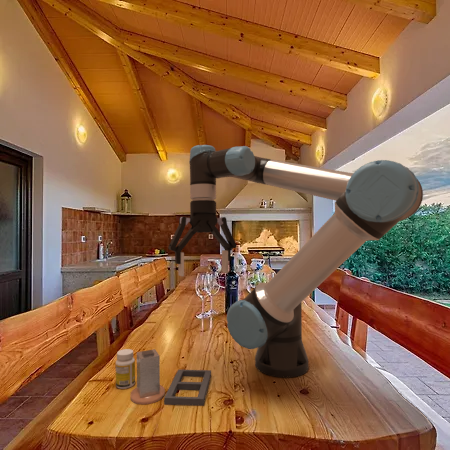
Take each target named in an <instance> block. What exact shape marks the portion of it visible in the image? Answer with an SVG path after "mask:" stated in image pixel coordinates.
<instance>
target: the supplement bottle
mask: <svg viewBox="0 0 450 450" xmlns="http://www.w3.org/2000/svg"><path fill="white" fill-rule="evenodd" d="M135 384H136V359H135V357H134V350H133V349H132V348H131V349H130V348H125V349H124V348H123V349H120V350H118V351H117V353H116V360H115V386H116V388H118V389H119V390H120V389H121V390H123V389H129V388H131V387H134V385H135Z"/></svg>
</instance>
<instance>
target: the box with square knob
mask: <svg viewBox="0 0 450 450" xmlns="http://www.w3.org/2000/svg"><path fill="white" fill-rule="evenodd" d="M160 360H161V359H160V354H159V352H158V351H157V350H156V349H155V348H154V349H148V350H142V351H137V352H136V387H137V391H138V394H139V396H140V398H144V397H148V396H153V395H157V394H160V385H161V383H160V382H161V380H160V379H161V378H160V377H161V375H160V374H161V373H160V372H161V370H160V366H161V365H160Z"/></svg>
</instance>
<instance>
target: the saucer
mask: <svg viewBox="0 0 450 450" xmlns="http://www.w3.org/2000/svg"><path fill="white" fill-rule="evenodd" d="M165 389H166V388H165V387H164V386H163V385H161V384H160V394H157V395H153V396H148V397H144V398H140V396H139V394H138V391H137V386H136V387H134V388H133V389H132V390H131V391H130V401H131V402H133V403H134V404H136V405H150V404H154V403H157V402H159V401H160V400H162V399H164V397H165V395H166V390H165Z"/></svg>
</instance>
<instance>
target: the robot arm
mask: <svg viewBox="0 0 450 450" xmlns="http://www.w3.org/2000/svg"><path fill="white" fill-rule="evenodd" d="M223 178H235V179H239V180H244V181H249V182H252V183H255V184H261V185H267V186H272V187H276V188H279V189H283V190H289V191H293V192H296V193H302V194H306V195H308V196H309V195H310V196H314V197H317V198H318V197H319V198H323V199H327V200H332V201H334V213H333V214H332V215H331V216H330V217H329V218H328V219H327V220H326V222H325V223H324V224H322V226H321V227H319V229H318V230H317V231H316V232H315V233H314V234H313V235H312V236H311V237H310V239H308V240H307V241H306V242H305V243H304V244H303V246H302V247H301V248H300V249H299V250H298V251H297V252H296V253H295V254H294V255H293V256H292V257H291V258H290V259H289V260H288V261H287V263H285V264H284V266H282V267H281V268H280V270H278V272H276V274H275V275H274V276H273V277H272V278H271V279H270V280H269V281H268V282H260V283H258V284H257V285H256V286H255V287H254V288H253V289H252V290H250V292H249V293H248V294H247V295H246V296H245V297H244V298H243V299H240V300H236V301H235V302H234V303H232V304H231V305H230V307H229V308H228V310H227V314H226V321H227V325H226V326H227V329H228V332H229V334H230V336H231V338H232V339H233V340H234V342H235V343H237V345H239V346H240V347H242V348H245V349H248V350H255V349H256V352H255V355H254V356H255V357H254V365H255V368H256V369H257V370H258V371H259V372H261V373H262V374H265V375H268V376H271V377H275V378H295V377H300V376H302V375H304V374H306V373H307V372H308V371H309V357H308V354H307V352H306V348H305V345H304V342H303V340H302V338H303V333H302V330H303V328H302V327H303V326H302V324H303V323H302V321H303V320H302V318H303V315H302V314H303V313H302V309H303V308H302V302H303V301H304V300H305V299H306V298H307V297H308V296H310V295H311V294H312V293H313V291H314V290H317V288H318V287H319V286H321V284H323V283H324V282H325V280H327V279H328V278H329V277H330V276H331V275H332V274H333V273H334V272H335V271H336V270H337V269H338V268H340V266H341V265H342V264H344V263H345V262H346V261H347V260H348V259H349V258H350V257H351V256H352V255H353V254H354V253H355V252H357V250H358V249H359V248H361V247H362V245H364V244H365V242H368V241H379V240H380V239H382V238H383V237H384V236H385V235H386V234H387V233H388V232H390V231H391V229H392V228H394V227H395V226H396V225H397V224H398V223H399V222H401V221H405V220H406V219H409V218H410V217H412V216H413V215H415V213H416V212H417V211H418V210H420V209H419V208H420V207H421V205H422V203H423V197H424V192H423V191H424V190H423V187H422V185H421V183H420V181H419V180H418V178H417V176H416V175H415V173H414V172H413V171H412V170H411V169H410V168H408V167H407V166H405V165H403V164H402V163H400V162H396V161H394V160H390V159H389V160H387V159H381V160H373V161H369V162H368V163H365V164H364V165H363V164H362V166H360V167H359V168H358V169H356V170H355V171H353V172H347V171H342V170H341V171H340V170H336V169H335V170H334V169H329V168H325V167H320V166H319V167H317V166H314V165H313V166H311V165H305V164H300V163H294V162H293V163H292V162H290V161H289V162H288V161H283V160H282V161H281V160H276V159H271V158H266V157H265V158H264V157H261V156H256V155H255V154H254V152H253V151H252V150H251V148H250V147H249V146H246V145H243V146H241V145H240V146H238V145H237V146H233V147H229V148H225V149H220V150H216V148H215V147H214V146H213V145H208V144H198V145H194V146H193V147H191V148H190V151H189V195H190V202H189V207H190V208H189V211H190V213H189V214H190V215H189V217H186V216H180V217H179V221H178V226H177V228H176V230H175V232H174V235H173V236H172V238H171V241H170V243H169V245H168V247H167V248H168V250H169V251H171V252H174V263H175V264H176V265H178V268H177V270H178V276H180V277H185V252H183V250H184V248H185V247H186V245H187V244H188V243H189V242H190V240H191V239H192V238H193V237H194V235H196V233H197V234H198V233H201V234H203V233H210V234H212V235H213V237H214V238H215V239H216V240H217V242H218V243H219V245H221V248H223V249H224V250H221V272H222V273H225V274H228V273H229V262H230V261H231V259H232V258H231V251H232V250H233V249H234V248H237V247H238V246H237V243H236V241H235V239H234V236H233V235H232V232H231V230H230V228H229V226H228V223H227V221H228V220H227V217H225V216H224V217H223V216H220V217H217V201H215V200H216V199H217V179H223ZM188 224H190V228H189V229H188V230H187V233H186V234H185V235H184V236H183V238H182V239H181V237H182V235H183V232H184V230H185V227H186V226H187V225H188ZM217 224H218V225H219V226H220V229H221V231H222V233H223V235H224V236H223V235H222V234H221V232H220V230H219V229H218V228H217V226H216V225H217ZM180 239H181V240H180Z"/></svg>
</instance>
